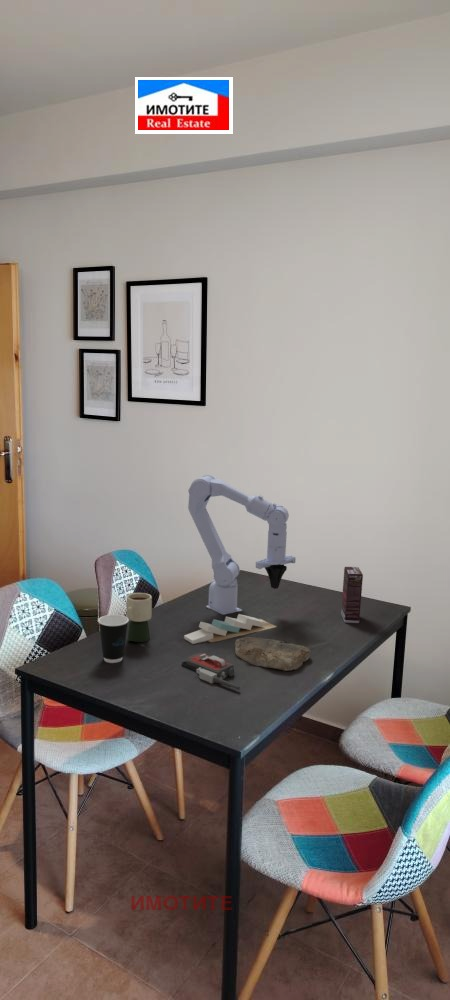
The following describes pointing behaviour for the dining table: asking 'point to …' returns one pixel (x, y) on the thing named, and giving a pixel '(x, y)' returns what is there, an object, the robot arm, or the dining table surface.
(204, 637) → the domino
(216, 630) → the domino
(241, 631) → the oak board
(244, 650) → the rough brown rock
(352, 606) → the supplement box
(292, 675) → the dining table surface
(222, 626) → the teal domino
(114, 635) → the dixie cup
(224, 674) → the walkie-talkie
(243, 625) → the domino
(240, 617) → the domino
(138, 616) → the character mug
